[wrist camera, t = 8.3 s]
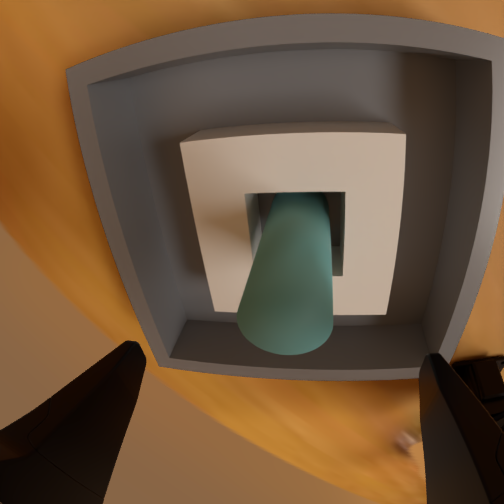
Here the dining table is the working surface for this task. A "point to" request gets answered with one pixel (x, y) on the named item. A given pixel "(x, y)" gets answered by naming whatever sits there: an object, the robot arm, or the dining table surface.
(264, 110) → the box
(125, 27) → the dining table surface
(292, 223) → the peg
